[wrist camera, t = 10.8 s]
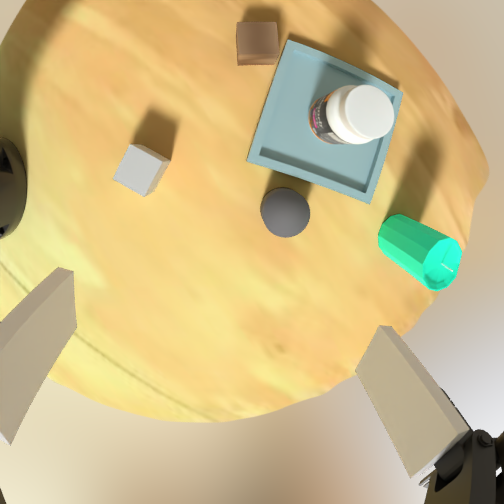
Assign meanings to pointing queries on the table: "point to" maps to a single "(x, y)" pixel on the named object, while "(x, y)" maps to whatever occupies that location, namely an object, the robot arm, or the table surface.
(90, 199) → the table surface
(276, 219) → the dark grey stone
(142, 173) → the grey block
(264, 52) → the walnut block
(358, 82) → the tray
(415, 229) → the candle
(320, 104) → the pill bottle
